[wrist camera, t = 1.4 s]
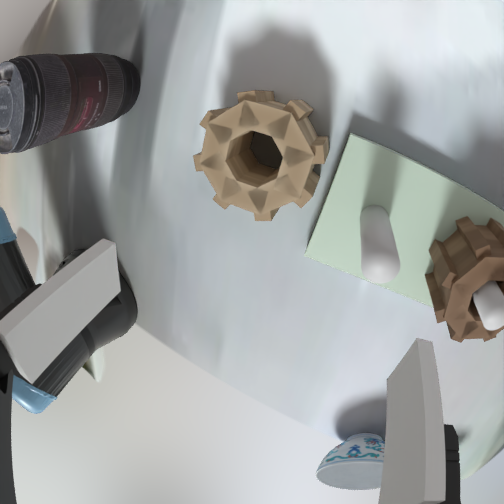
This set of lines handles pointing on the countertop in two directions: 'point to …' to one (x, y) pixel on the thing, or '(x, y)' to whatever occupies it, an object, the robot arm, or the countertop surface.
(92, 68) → the camera lens
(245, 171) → the maple gear
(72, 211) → the countertop surface
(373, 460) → the chinaware
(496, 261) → the walnut gear
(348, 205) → the gear board
